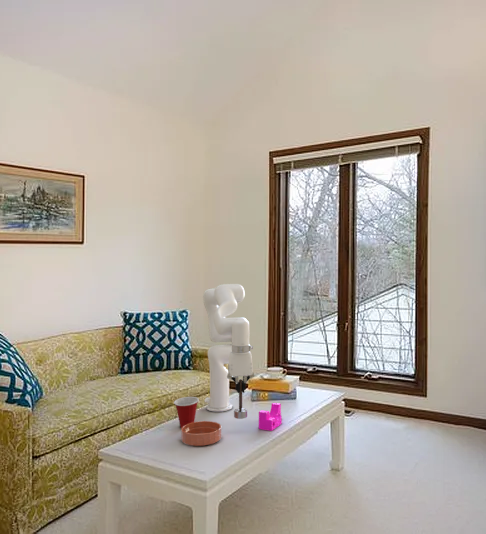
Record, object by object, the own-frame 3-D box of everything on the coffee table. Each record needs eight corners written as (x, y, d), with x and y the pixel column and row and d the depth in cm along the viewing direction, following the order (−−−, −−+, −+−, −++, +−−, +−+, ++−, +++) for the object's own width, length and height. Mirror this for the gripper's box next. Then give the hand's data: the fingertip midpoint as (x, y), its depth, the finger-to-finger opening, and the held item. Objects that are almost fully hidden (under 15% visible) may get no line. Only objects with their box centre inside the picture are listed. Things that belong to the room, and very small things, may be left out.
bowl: (173, 442, 198) (172, 430, 198) (199, 430, 212) (198, 418, 212) (204, 449, 190) (204, 437, 190) (229, 436, 204) (229, 424, 204)
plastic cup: (169, 427, 217) (168, 400, 217) (189, 421, 225) (189, 395, 225) (183, 432, 210) (183, 404, 209) (203, 426, 217) (203, 399, 217)
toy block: (271, 430, 212) (271, 413, 211) (258, 428, 214) (258, 411, 214) (285, 420, 225) (285, 404, 225) (273, 418, 228) (273, 402, 228)
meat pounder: (231, 417, 208) (231, 379, 208) (239, 413, 213) (239, 376, 213) (242, 419, 205) (242, 381, 205) (249, 415, 210) (249, 378, 210)
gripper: (256, 346, 214) (256, 388, 215) (221, 348, 210) (221, 390, 210) (260, 349, 207) (260, 393, 207) (223, 351, 203) (223, 395, 203)
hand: (240, 391), depth 209 cm, fingers closed on meat pounder, 1 cm apart
